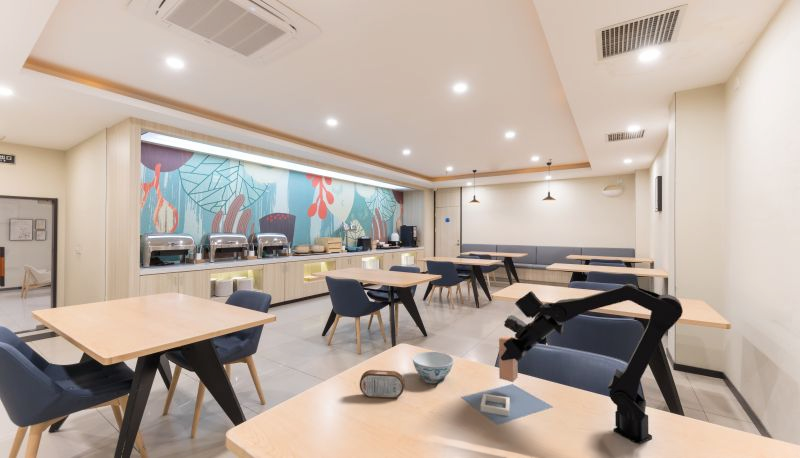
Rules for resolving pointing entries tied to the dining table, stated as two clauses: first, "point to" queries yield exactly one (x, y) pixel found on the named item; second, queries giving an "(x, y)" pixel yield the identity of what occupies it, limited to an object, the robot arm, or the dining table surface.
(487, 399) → the snap socket
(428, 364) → the chinaware
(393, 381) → the tin
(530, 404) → the board
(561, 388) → the dining table surface
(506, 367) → the terracotta pillar
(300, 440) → the dining table surface
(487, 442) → the dining table surface
